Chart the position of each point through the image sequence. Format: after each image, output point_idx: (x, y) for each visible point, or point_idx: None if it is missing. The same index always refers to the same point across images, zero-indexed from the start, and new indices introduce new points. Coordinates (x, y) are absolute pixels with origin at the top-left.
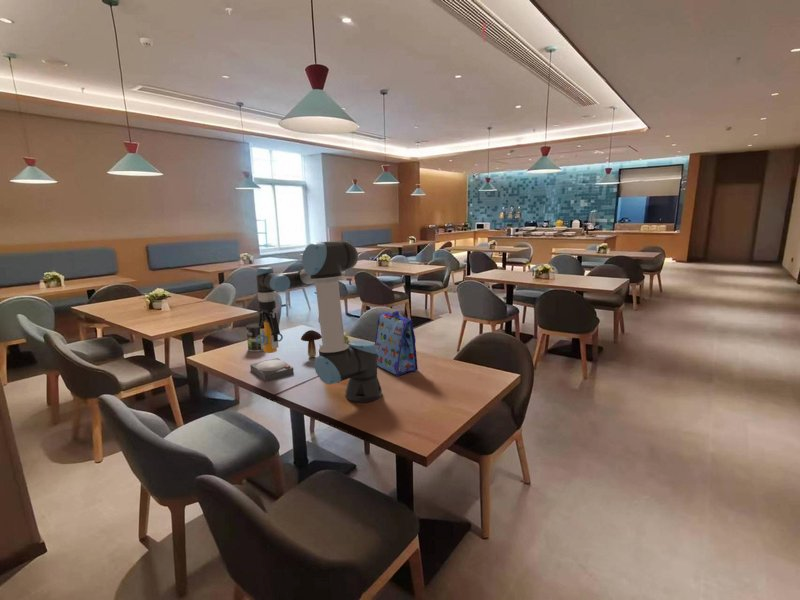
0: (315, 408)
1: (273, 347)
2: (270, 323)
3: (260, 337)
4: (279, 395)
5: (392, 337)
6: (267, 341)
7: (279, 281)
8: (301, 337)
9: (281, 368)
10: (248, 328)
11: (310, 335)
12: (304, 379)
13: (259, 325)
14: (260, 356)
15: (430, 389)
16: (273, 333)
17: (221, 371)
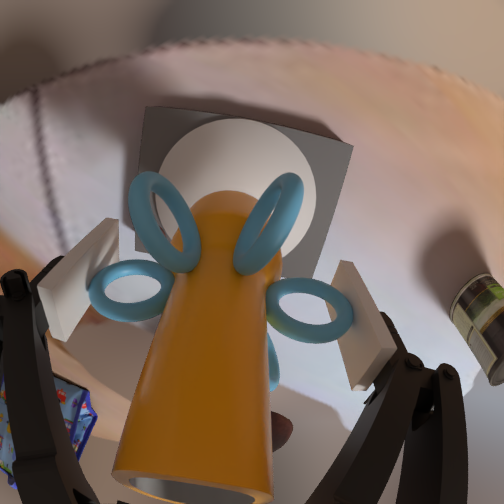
0: None
1: (103, 225)
2: (13, 425)
3: (479, 333)
4: (24, 98)
5: (5, 429)
6: (184, 245)
7: None
8: (274, 420)
9: (159, 209)
10: None
11: None
12: (72, 229)
13: (438, 375)
14: (427, 268)
15: None
16: (7, 300)
17: (430, 68)
